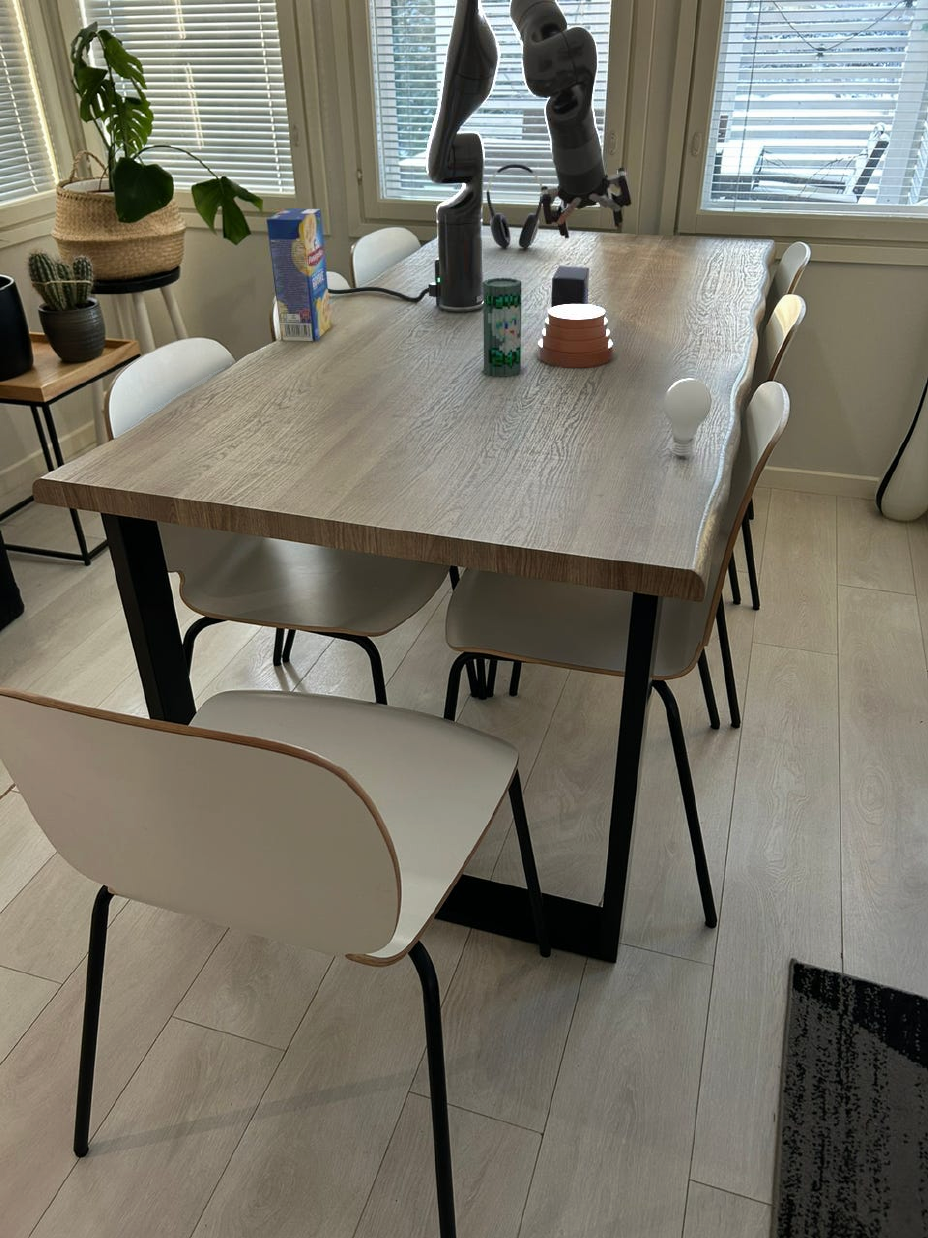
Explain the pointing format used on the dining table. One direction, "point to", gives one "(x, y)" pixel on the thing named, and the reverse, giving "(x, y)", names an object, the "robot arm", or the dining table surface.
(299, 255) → the blue cracker box
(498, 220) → the headphones
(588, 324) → the orange stepped round pedestal
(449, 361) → the dining table surface
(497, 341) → the can
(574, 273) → the small box
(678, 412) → the lightbulb
